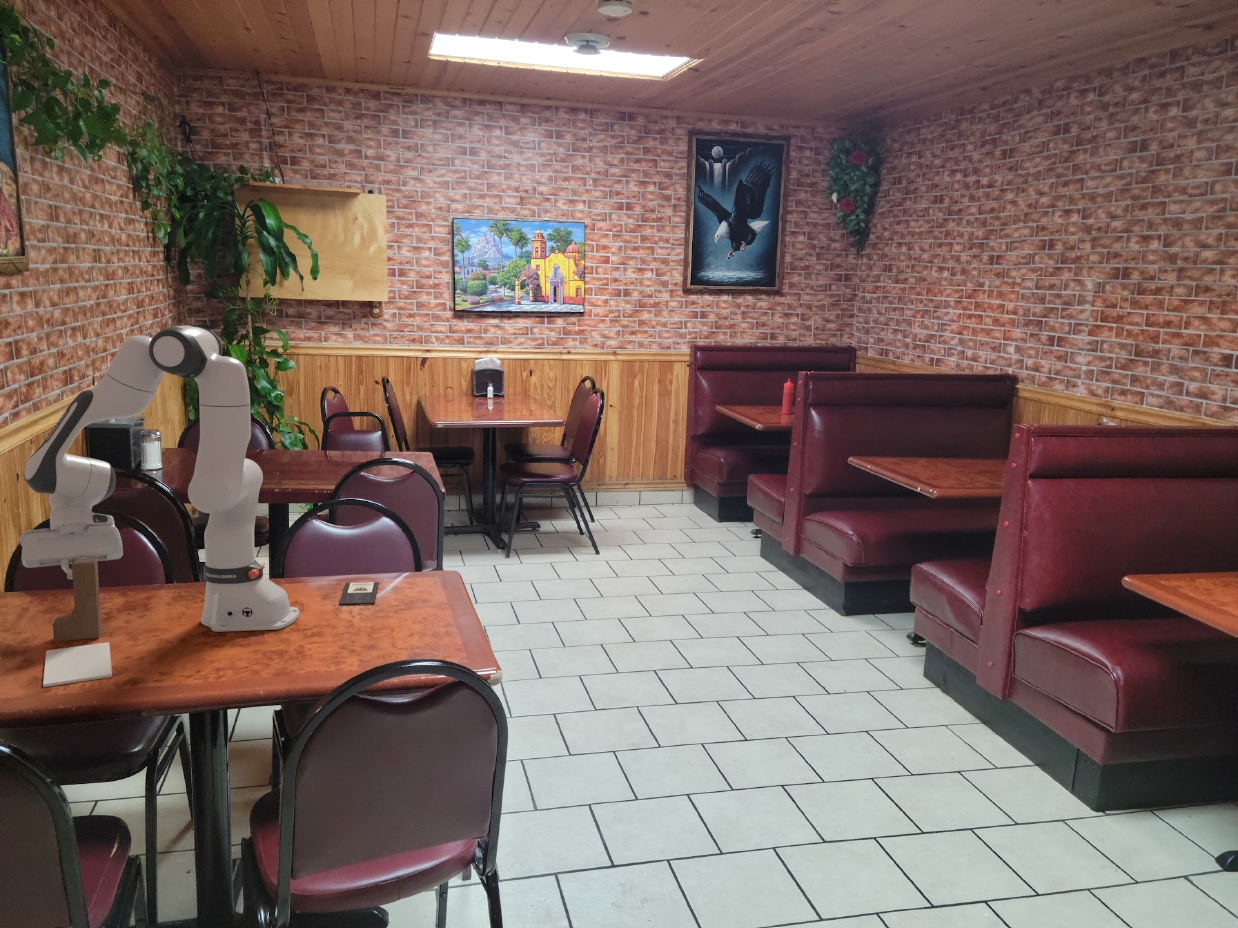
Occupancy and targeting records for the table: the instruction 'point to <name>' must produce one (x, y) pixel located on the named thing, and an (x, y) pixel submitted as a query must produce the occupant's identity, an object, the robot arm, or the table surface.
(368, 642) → the table surface
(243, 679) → the table surface
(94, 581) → the wooden block
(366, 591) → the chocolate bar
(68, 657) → the white board
